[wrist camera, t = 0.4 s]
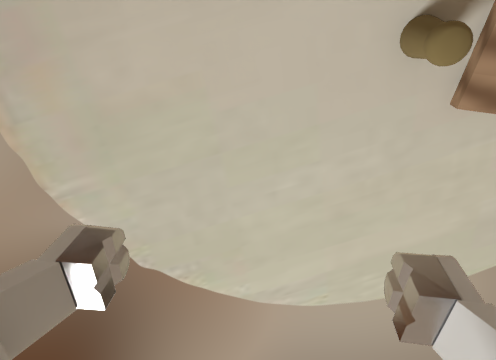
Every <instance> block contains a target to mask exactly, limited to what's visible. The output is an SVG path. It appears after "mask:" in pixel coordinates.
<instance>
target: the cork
mask: <svg viewBox="0 0 496 360" xmlns="http://www.w3.org/2000/svg"><path fill="white" fill-rule="evenodd" d="M472 42H473V34H472V31H471V29H470V28H469V27H468V26H467V25H466V24H465V23H463V22H460V21H447V22H444V21H442V20H440V19H439V18H437V17H434V16H432V15H421V16H418V17H416V18H414V19H413V20H411V21H410V22H409V23H408V24H407V25H406V26H405V27H404V29H403V32H402V34H401V38H400V46H401V49H402V51H403V53H405V54H406V55H407V56H408V57H411V58H420V59H427V60H428V61H429V62H430V63H432V64H434V65H437V66H449V65H453V64H455V63H457V62H459V61H460V60H462V59H463V58H464V57H465V56H466V55H467V53H468V52H469V50H470V48H471V46H472Z"/></svg>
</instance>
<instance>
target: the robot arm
mask: <svg viewBox="0 0 496 360" xmlns="http://www.w3.org/2000/svg"><path fill="white" fill-rule="evenodd" d="M125 239H126V238H125V234H124V231H123V230H122V229H120V228H111V227H102V226H93V225H81V224H73V225H70V226H69V227H68V228H67V229H66V230H65V231H64V232H63V233H62V234H61V235H60V236H59V237H58V238H57V239H56V240H55V241H54V242H53V243H52V244H51V245H50V246H49V247H48V249H47V250H46V251H45V252H44V253H43V254H42V255H41V256H40V257H39V258H38V259H37V260H30V261H27V262H25V263H23V264H21V265H19V266H17V267H15V268H13V269H10V270H9V271H6V272H5V273H2V274H0V360H12V359H13V358H14V357H16V356H17V355H18V354H20V353H21V352H22V351H24V350H25V349H26V348H27V347H29V346H30V345H31V344H33V343H34V342H35V341H37V340H38V339H39V338H40V337H42V336H43V335H44V334H46V333H47V332H48V331H50V330H51V329H52V328H54V327H55V326H56V325H57V324H59V323H60V322H61V321H63V320H64V319H65V318H67V317H68V316H69V315H70V314H72V313H73V312H74V311H76V310H77V308H82V309H95V310H105V309H106V308H107V306H108V304H109V303H110V301H111V299H112V297H113V296H114V294H115V292H116V290H115V286H114V285H116V284H117V283H119V282H120V281H122V280H123V278H124V277H125V275H126V273H127V270H128V266H129V252H128V249H127V248H126V247H125V246H124V245H123V242H124V241H125ZM391 264H392V267H393V269H392V270H391V271H390V272H388V273H387V275H386V278H385V282H384V294H385V299H386V302H387V305H388V307H389V308H390V309H391V310H392V311H393V312H394V313H395V314H394V317H393V320H392V321H393V323H394V326H395V329H396V332H397V335H398V338H399V341H400V342H405V343H413V344H420V345H428V346H433V349H434V350H435V351H436V352H437V353H438V354H439V356H440V357H441V358H442V359H443V360H496V307H495V306H494V305H493V304H489V303H485V302H484V300H483V299H482V298H481V296H480V295H479V293H478V292H477V290H476V289H475V287H474V285H473V284H472V283H471V281H470V280H469V278H468V276H467V275H466V273H465V272H464V270H463V269H462V267H461V266H460V264H459V263H458V261H457V260H456V259H455V258H454V257H452V256H444V255H426V254H413V253H400V252H396V253H395V254H394V255H393V257H392V260H391Z"/></svg>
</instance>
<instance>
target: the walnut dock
mask: <svg viewBox="0 0 496 360" xmlns="http://www.w3.org/2000/svg"><path fill="white" fill-rule="evenodd" d="M450 105H452V106H453V107H455V108H457V109H462V110H470V111H477V112H485V113H492V114H496V0H495V2H494V4H493V7H492V9H491V11H490V14H489V16H488V18H487V20H486V23H485V25H484V27H483V30H482V32H481V34H480V36H479V39H478V41H477V43H476V46H475V48H474V50H473V52H472V55H471V57H470V59H469V62H468V64H467V66H466V68H465V71H464V73H463V75H462V78H461V80H460V82H459V84H458V87H457V89H456V91H455V94H454V96H453V98H452V100H451V103H450Z"/></svg>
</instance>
